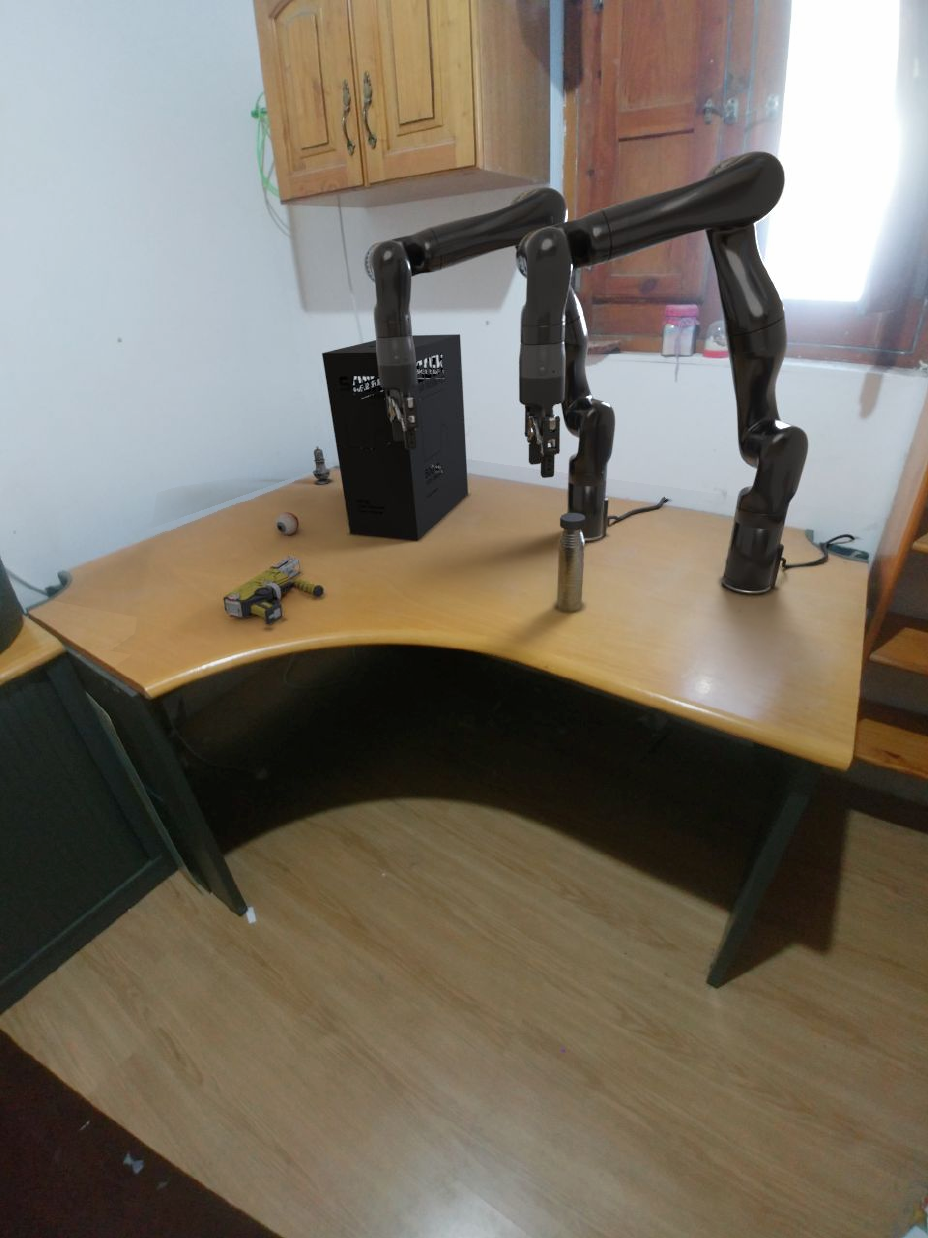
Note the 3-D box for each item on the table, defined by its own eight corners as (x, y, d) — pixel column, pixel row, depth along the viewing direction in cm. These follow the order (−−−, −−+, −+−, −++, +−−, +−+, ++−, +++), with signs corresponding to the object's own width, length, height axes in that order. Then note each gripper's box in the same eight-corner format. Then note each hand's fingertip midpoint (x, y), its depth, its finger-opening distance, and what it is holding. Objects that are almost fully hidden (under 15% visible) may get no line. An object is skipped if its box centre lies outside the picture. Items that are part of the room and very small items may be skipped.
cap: (572, 532, 111) (573, 523, 110) (554, 526, 114) (555, 517, 114) (590, 525, 114) (590, 517, 113) (571, 519, 117) (572, 511, 116)
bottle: (569, 614, 120) (573, 525, 110) (551, 605, 123) (554, 519, 114) (586, 606, 122) (591, 519, 113) (568, 597, 126) (572, 512, 116)
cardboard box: (408, 489, 193) (393, 335, 171) (468, 494, 187) (460, 334, 164) (350, 533, 163) (321, 353, 141) (418, 540, 156) (400, 352, 134)
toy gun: (343, 565, 138) (286, 554, 142) (281, 611, 118) (217, 596, 122) (343, 584, 140) (288, 572, 144) (284, 632, 120) (221, 617, 124)
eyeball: (273, 537, 164) (268, 516, 161) (287, 528, 169) (282, 508, 166) (291, 539, 161) (286, 518, 158) (305, 530, 166) (301, 510, 163)
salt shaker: (327, 484, 203) (321, 448, 197) (311, 484, 204) (305, 448, 198) (334, 479, 208) (328, 443, 202) (318, 478, 209) (312, 443, 203)
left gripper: (426, 362, 113) (433, 449, 121) (404, 355, 125) (411, 435, 133) (387, 367, 111) (397, 455, 119) (369, 359, 123) (378, 440, 131)
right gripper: (577, 376, 93) (573, 479, 101) (552, 365, 105) (550, 457, 113) (530, 380, 92) (529, 484, 100) (510, 368, 105) (511, 461, 113)
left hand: (404, 444), depth 126 cm, fingers open, 8 cm apart
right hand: (540, 470), depth 107 cm, fingers open, 8 cm apart
